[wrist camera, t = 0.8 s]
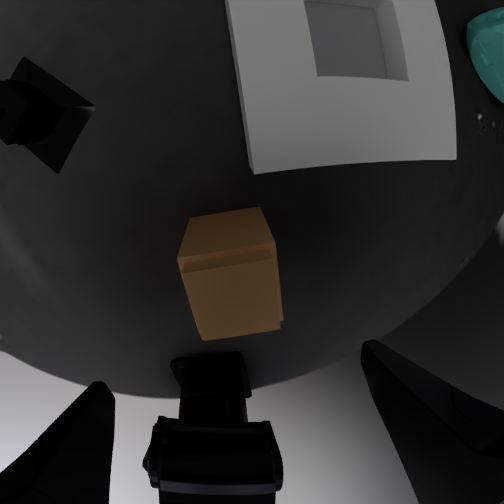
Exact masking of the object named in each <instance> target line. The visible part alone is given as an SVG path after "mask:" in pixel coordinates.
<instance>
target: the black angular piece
mask: <svg viewBox="0 0 504 504" xmlns="http://www.w3.org/2000/svg"><path fill="white" fill-rule="evenodd" d="M94 110H95V106H94V105H93V104H92V103H90V102H89V101H87V100H86V99H85V98H83V97H82V96H80V95H79V94H78V93H76V92H75V91H73V90H72V89H70V88H69V87H68V86H66V85H65V84H63V83H62V82H60V81H59V80H58V79H56V78H55V77H53V76H52V75H50V74H49V73H47V72H46V71H45V70H43V69H42V68H40V67H39V66H37V65H36V64H34V63H33V62H31V61H30V60H28V59H27V58H26V57H22V59H21V61H20V62H19V64H18V66H17V67H16V69H15V71H14V73H13V74H12V76H11V78H10V80H8V79H6V80H5V81H0V139H1V140H2V141H3V142H4V143H5V144H6V145H11V144H18V145H19V146H20V145H24V146H25V147H26V148H28V149H29V150H30V151H31V152H32V153H33V154H34V155H36V156H37V157H38V158H39V159H40V160H41V161H43V162H44V163H45V164H46V165H47V166H48V167H50V168H51V169H52V170H53V171H54V172H56V173H57V174H59V173H60V171H61V169H62V166H63V164H64V163H65V161H66V159H67V157H68V155H69V153H70V151H71V149H72V147H73V145H74V144H75V142H76V140H77V138H78V137H79V135H80V133H81V131H82V130H83V128H84V126H85V125H86V123H87V121H88V120H89V118H90V116H91V115H92V113H93V112H94Z"/></svg>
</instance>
